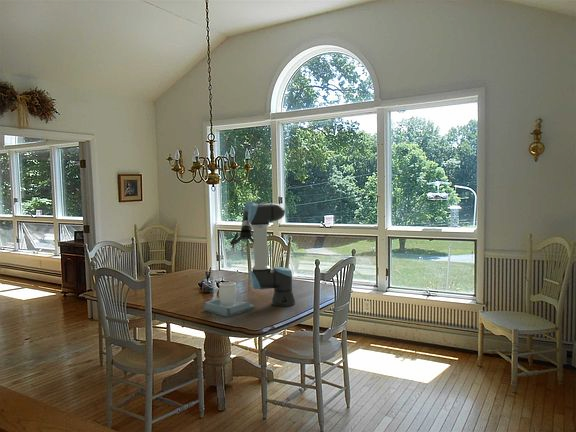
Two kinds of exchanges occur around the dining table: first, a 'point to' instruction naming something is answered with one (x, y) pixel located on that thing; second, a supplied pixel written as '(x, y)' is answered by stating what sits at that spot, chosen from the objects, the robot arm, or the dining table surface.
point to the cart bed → (217, 307)
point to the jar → (227, 293)
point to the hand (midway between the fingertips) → (243, 252)
